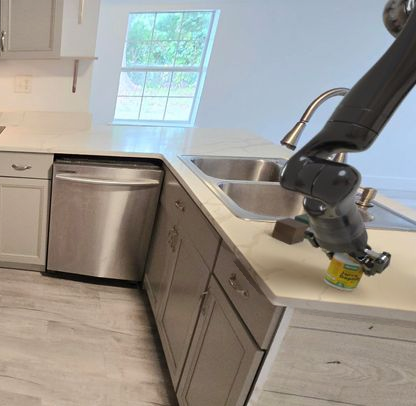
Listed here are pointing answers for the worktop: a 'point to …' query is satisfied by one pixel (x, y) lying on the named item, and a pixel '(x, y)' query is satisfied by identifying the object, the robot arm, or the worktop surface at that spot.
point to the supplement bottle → (343, 273)
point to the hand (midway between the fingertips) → (352, 264)
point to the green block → (302, 219)
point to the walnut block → (289, 230)
